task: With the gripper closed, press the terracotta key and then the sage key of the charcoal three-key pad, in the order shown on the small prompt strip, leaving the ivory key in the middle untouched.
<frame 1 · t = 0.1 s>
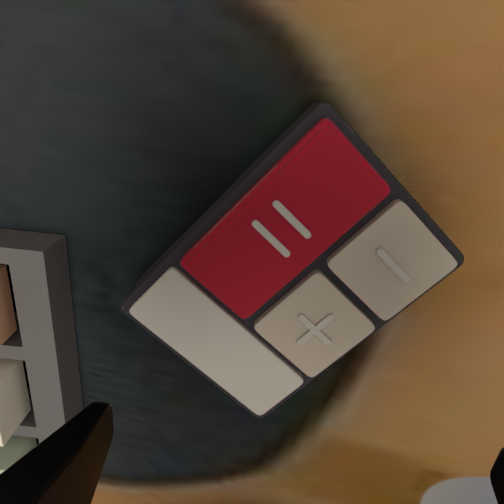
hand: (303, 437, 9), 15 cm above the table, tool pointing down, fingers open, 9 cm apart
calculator: (284, 259, 24), on the table
keypad frame: (8, 364, 28), on the table
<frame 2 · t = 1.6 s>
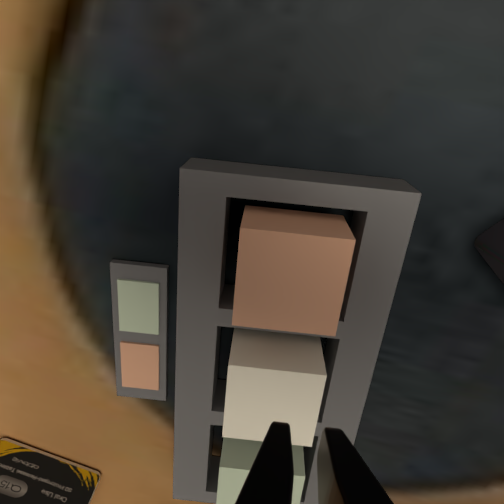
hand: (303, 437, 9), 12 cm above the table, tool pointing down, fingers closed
key ivory: (272, 385, 20), point 3 cm above the table, slide at 0.0 cm
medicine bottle: (43, 481, 29), on the table
prompt strip: (142, 332, 23), on the table
key terracotta: (288, 268, 17), point 3 cm above the table, slide at 0.0 cm
keypad frame: (272, 347, 23), on the table
key sage: (259, 474, 22), point 3 cm above the table, slide at 0.0 cm
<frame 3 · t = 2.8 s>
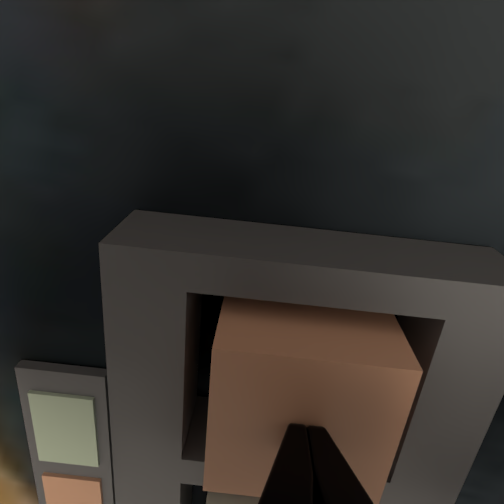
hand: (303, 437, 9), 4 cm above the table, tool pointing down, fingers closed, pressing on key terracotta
prompt strip: (76, 458, 15), on the table
key terracotta: (298, 390, 11), point 2 cm above the table, slide at 0.9 cm, touching gripper
keypad frame: (271, 480, 15), on the table
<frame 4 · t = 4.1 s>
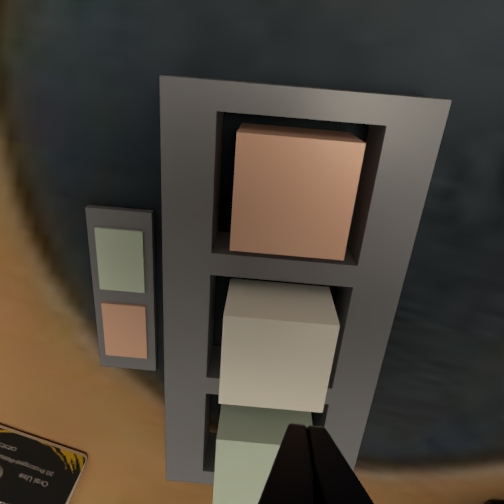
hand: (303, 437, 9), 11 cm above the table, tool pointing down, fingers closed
key ivory: (275, 343, 17), point 3 cm above the table, slide at 0.0 cm
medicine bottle: (24, 466, 26), on the table
prompt strip: (126, 292, 20), on the table
key terracotta: (291, 189, 16), point 2 cm above the table, slide at 1.3 cm
keypad frame: (274, 305, 20), on the table
key sage: (262, 449, 20), point 3 cm above the table, slide at 0.0 cm
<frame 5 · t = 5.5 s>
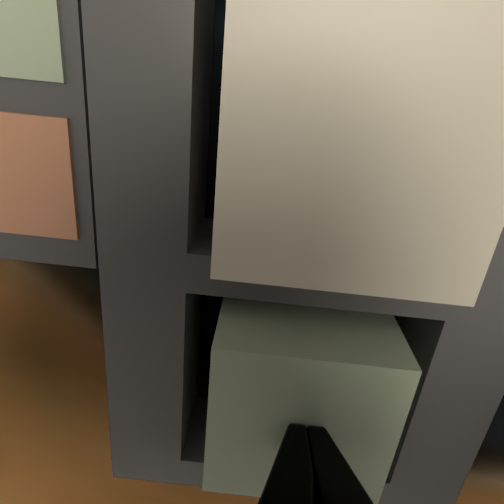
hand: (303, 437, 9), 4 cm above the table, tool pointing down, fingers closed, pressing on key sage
key ivory: (351, 144, 7), point 3 cm above the table, slide at 0.0 cm
prompt strip: (32, 95, 10), on the table
keypad frame: (329, 126, 10), on the table
key sage: (297, 390, 11), point 2 cm above the table, slide at 0.9 cm, touching gripper
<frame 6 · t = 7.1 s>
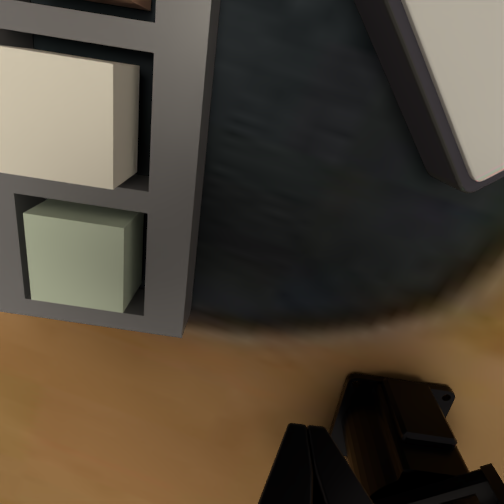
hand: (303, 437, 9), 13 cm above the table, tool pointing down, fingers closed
key ivory: (71, 117, 16), point 3 cm above the table, slide at 0.0 cm
keypad frame: (101, 110, 18), on the table
key sage: (89, 252, 20), point 2 cm above the table, slide at 1.3 cm
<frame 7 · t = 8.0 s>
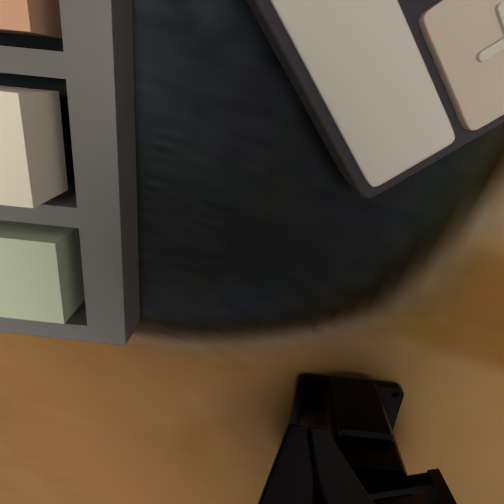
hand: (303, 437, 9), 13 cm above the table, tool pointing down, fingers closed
keypad frame: (35, 133, 20), on the table
key sage: (32, 267, 21), point 2 cm above the table, slide at 1.3 cm
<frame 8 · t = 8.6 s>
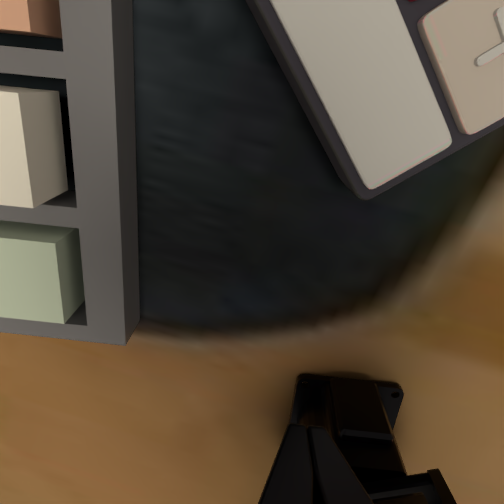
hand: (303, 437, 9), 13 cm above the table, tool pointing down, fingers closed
keypad frame: (35, 133, 20), on the table
key sage: (32, 267, 21), point 2 cm above the table, slide at 1.3 cm
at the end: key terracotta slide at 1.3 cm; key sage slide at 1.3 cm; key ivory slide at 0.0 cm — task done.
